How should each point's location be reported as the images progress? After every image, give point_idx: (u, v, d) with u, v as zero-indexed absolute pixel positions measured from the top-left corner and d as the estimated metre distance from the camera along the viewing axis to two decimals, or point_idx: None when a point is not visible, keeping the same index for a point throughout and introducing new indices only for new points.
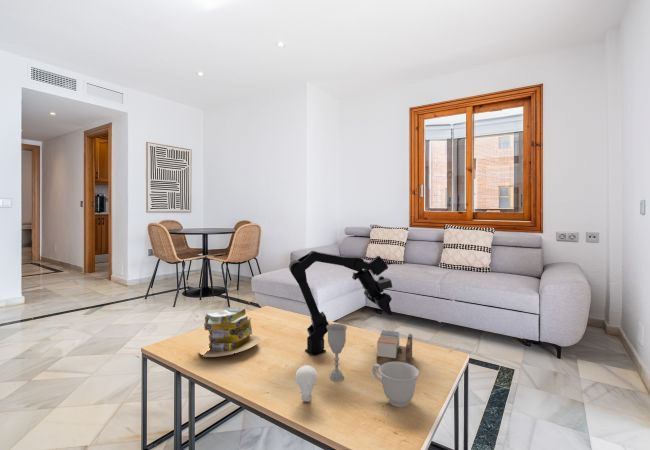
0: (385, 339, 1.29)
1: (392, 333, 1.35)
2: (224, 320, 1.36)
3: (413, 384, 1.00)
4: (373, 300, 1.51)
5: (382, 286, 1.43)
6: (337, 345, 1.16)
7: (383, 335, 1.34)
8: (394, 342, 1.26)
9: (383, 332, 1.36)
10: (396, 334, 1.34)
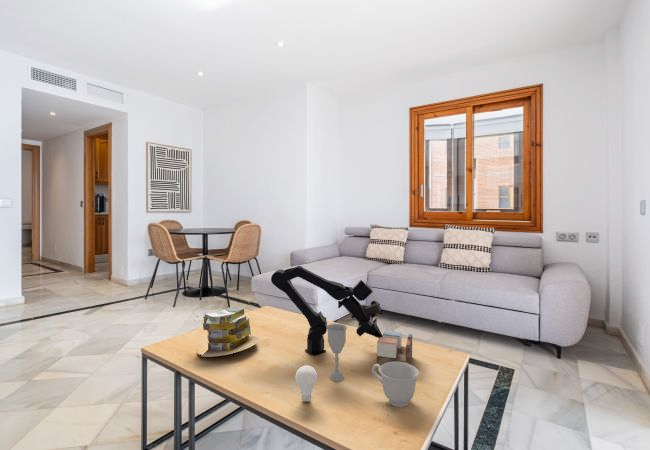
0: (385, 339, 1.29)
1: (394, 333, 1.35)
2: (223, 320, 1.36)
3: (413, 384, 1.00)
4: None
5: (367, 312, 1.35)
6: (337, 345, 1.16)
7: (385, 335, 1.34)
8: (394, 342, 1.26)
9: (385, 332, 1.36)
10: (398, 334, 1.33)
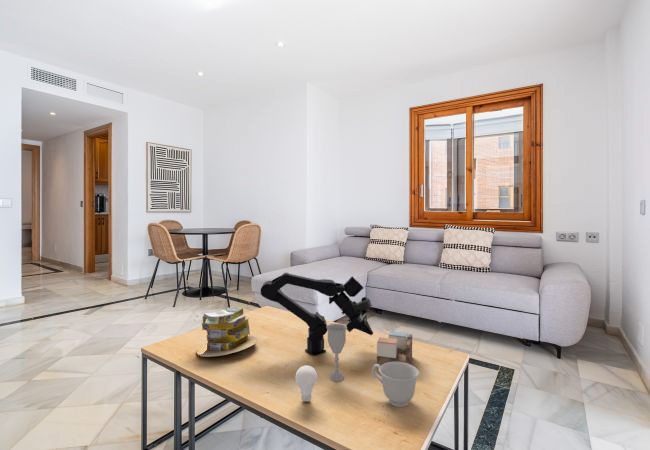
0: (385, 339, 1.29)
1: (400, 334, 1.34)
2: (222, 320, 1.36)
3: (413, 384, 1.00)
4: None
5: (357, 308, 1.36)
6: (337, 345, 1.16)
7: (391, 336, 1.33)
8: (394, 342, 1.26)
9: (391, 333, 1.35)
10: (404, 335, 1.33)
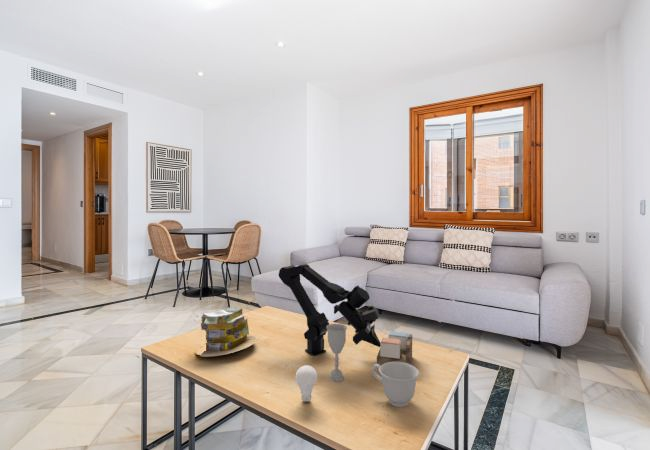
0: (388, 339, 1.28)
1: (400, 334, 1.34)
2: (221, 320, 1.36)
3: (413, 384, 1.00)
4: None
5: (364, 319, 1.27)
6: (337, 345, 1.16)
7: (391, 336, 1.33)
8: (398, 342, 1.25)
9: (391, 333, 1.35)
10: (404, 335, 1.33)
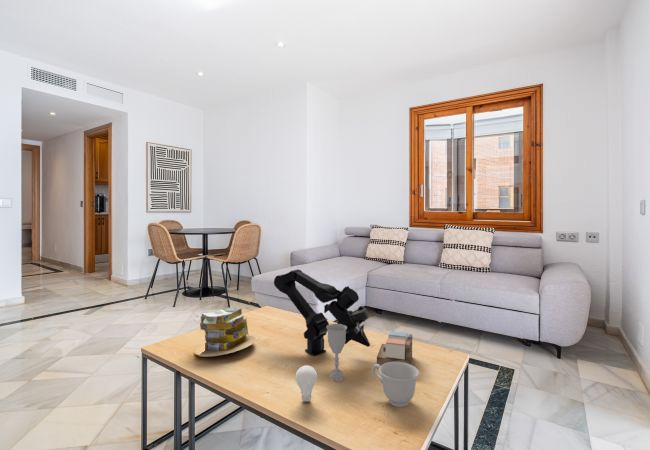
0: (394, 340, 1.28)
1: (400, 334, 1.34)
2: (220, 320, 1.36)
3: (413, 384, 1.00)
4: None
5: (354, 319, 1.29)
6: (337, 345, 1.16)
7: (391, 336, 1.33)
8: (403, 343, 1.25)
9: (391, 333, 1.35)
10: (404, 335, 1.33)
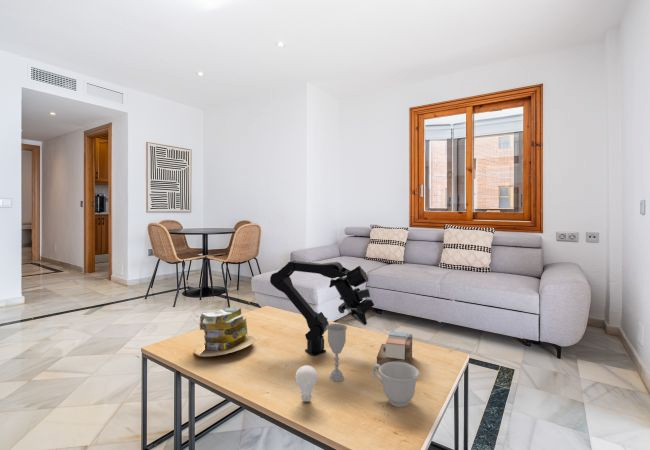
0: (394, 340, 1.28)
1: (400, 334, 1.34)
2: (219, 320, 1.36)
3: (413, 384, 1.00)
4: None
5: (361, 295, 1.36)
6: (337, 345, 1.16)
7: (391, 336, 1.33)
8: (403, 343, 1.25)
9: (391, 333, 1.35)
10: (404, 335, 1.33)
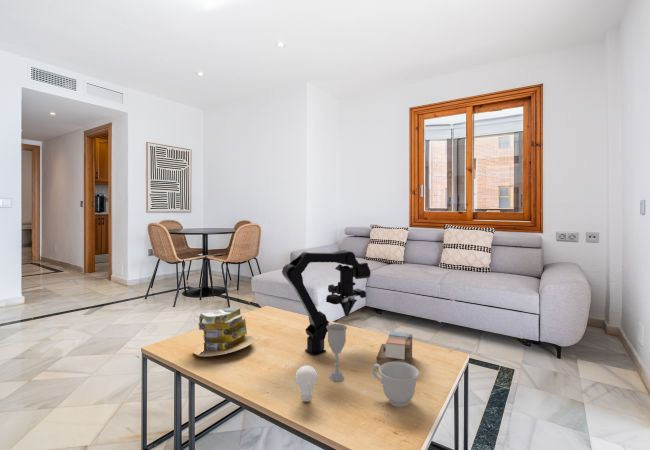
0: (394, 340, 1.28)
1: (400, 334, 1.34)
2: (218, 320, 1.36)
3: (413, 384, 1.00)
4: None
5: None
6: (337, 345, 1.16)
7: (391, 336, 1.33)
8: (403, 343, 1.25)
9: (391, 333, 1.35)
10: (404, 335, 1.33)
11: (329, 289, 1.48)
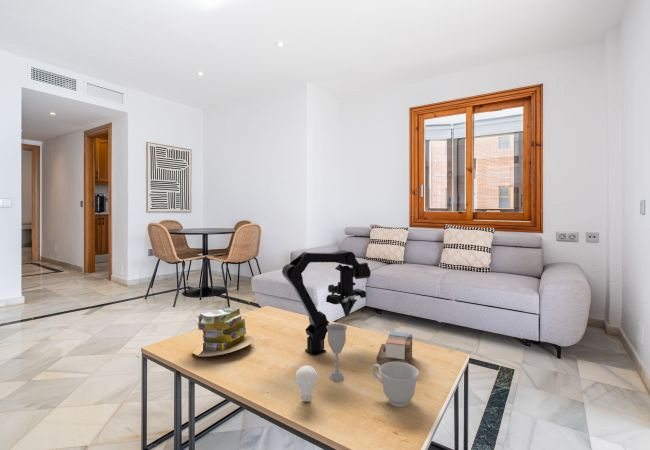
0: (394, 340, 1.28)
1: (400, 334, 1.34)
2: (217, 320, 1.36)
3: (413, 384, 1.00)
4: None
5: None
6: (337, 345, 1.16)
7: (391, 336, 1.33)
8: (403, 343, 1.25)
9: (391, 333, 1.35)
10: (404, 335, 1.33)
11: (329, 289, 1.48)
